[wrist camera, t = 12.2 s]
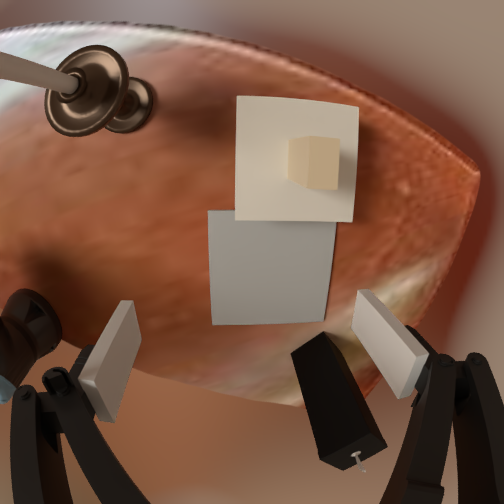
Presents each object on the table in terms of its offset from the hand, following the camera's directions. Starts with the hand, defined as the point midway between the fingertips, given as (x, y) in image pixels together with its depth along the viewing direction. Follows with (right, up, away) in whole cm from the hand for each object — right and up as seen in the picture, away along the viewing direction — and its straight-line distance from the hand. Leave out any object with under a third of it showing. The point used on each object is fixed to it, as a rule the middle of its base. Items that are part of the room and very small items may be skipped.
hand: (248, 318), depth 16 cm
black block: (+13, -16, +38) cm, 43 cm away
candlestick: (-19, +26, +21) cm, 38 cm away
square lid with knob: (+6, +16, +20) cm, 26 cm away
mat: (+3, +1, +31) cm, 31 cm away
